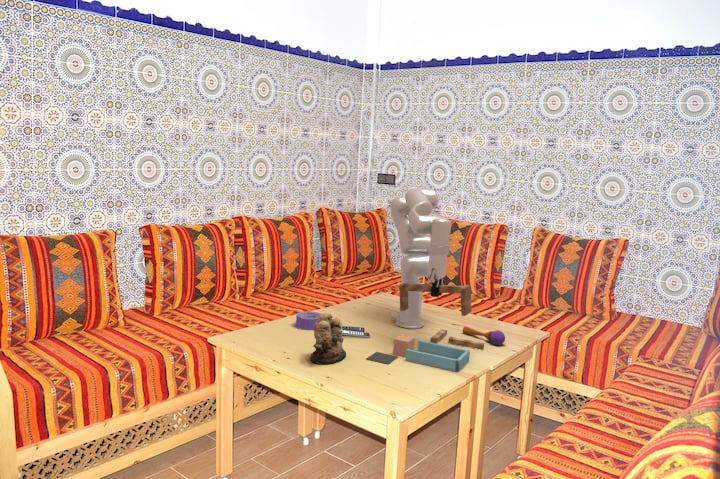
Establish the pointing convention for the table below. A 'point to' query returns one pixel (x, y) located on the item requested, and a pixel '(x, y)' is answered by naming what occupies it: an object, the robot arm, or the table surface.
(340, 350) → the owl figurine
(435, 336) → the plain stick
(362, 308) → the table surface
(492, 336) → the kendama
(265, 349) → the table surface
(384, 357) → the grey square tile
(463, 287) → the crook rake
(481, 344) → the plain stick
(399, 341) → the clay-red block
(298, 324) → the tape roll
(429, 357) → the cubby
